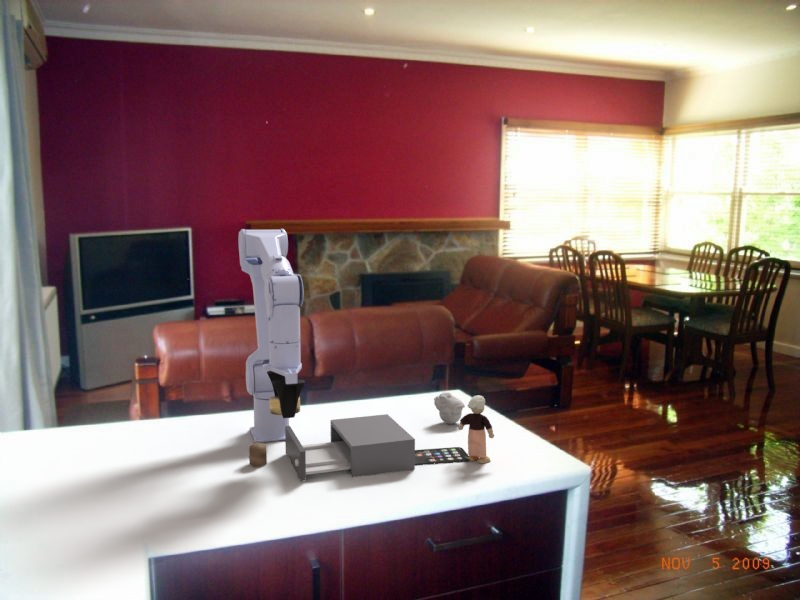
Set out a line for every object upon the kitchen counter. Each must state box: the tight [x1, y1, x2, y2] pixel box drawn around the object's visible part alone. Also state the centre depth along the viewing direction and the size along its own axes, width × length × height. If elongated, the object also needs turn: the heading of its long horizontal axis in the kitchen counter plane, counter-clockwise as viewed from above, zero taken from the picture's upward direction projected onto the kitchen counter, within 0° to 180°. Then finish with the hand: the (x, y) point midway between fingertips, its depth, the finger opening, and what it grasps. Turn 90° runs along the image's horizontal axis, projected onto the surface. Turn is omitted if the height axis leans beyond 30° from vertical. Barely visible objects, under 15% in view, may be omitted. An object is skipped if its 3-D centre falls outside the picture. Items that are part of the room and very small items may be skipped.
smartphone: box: [415, 446, 471, 466], centre depth 134 cm, size 7×1×15 cm
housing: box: [330, 413, 416, 478], centre depth 133 cm, size 16×12×6 cm
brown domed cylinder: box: [248, 442, 268, 468], centre depth 130 cm, size 3×3×4 cm
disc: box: [269, 395, 301, 415], centre depth 128 cm, size 6×6×2 cm
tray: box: [284, 425, 351, 482], centre depth 130 cm, size 15×12×5 cm
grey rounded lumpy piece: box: [433, 391, 466, 425], centre depth 154 cm, size 6×7×7 cm
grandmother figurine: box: [457, 394, 495, 464], centre depth 132 cm, size 8×4×13 cm, turn 65°
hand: (285, 412), depth 128 cm, fingers closed on disc, 6 cm apart
